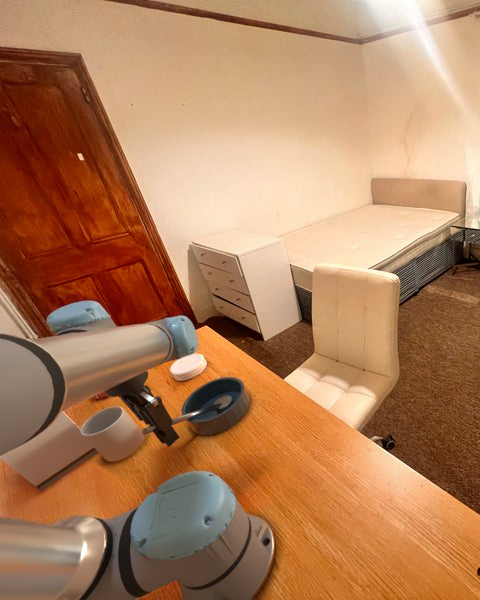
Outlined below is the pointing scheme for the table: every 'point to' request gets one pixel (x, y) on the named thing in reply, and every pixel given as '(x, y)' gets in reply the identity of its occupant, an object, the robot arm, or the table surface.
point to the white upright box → (50, 453)
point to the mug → (112, 433)
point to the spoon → (200, 412)
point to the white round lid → (188, 367)
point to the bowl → (207, 397)
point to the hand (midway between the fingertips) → (170, 440)
